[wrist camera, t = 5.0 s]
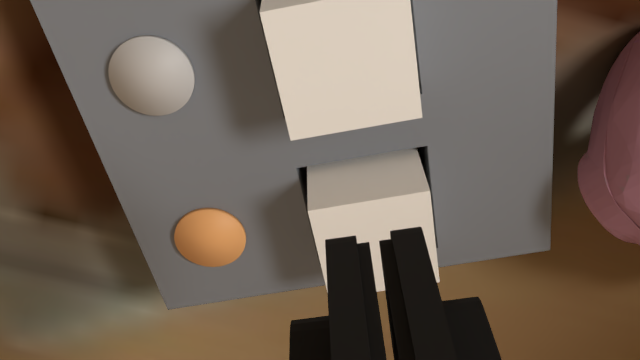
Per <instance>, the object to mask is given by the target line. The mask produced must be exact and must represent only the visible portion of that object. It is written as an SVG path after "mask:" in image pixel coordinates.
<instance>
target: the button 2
mask: <svg viewBox="0 0 640 360" xmlns="http://www.w3.org/2000/svg"><path fill="white" fill-rule="evenodd" d="M307 200H308V214H309V219H310V223H311V227H312V231H313V235H314V239H315V243H316V247H317V252H318V256H319V260H320V264H321V268H322V272H323V276H324V280H325V285H326V289H327V269H326V249H325V240H326V239H333V238H341V237H348V236H355V235H356V239H357V244H358V243H366V242H369V244H370V251H371V258H372V265H373V272H374V278H375V285H376V292H379V291H385V284H384V276H383V269H382V261H381V253H380V245H379V241H380V240H388V239H391V238H390V231H392V230H399V229H407V228H414V227H421V228H422V230H423V234H424V237H425V241H426V245H427V248H428V252H429V256H430V260H431V263H432V267H433V271H434V274H435V278H436V282H440V280H439V271H438V261H437V251H436V242H435V232H434V223H433V213H432V204H431V194H430V189H429V185H428V182H427V179H426V176H425V173H424V170H423V167H422V163H421V160H420V157H419V154H418V151H417V148H411V149H405V150H399V151H393V152H388V153H382V154H376V155H370V156H364V157H358V158H353V159H347V160H341V161H335V162H329V163H324V164H318V165H312V166H307ZM327 293H328V289H327Z"/></svg>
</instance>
